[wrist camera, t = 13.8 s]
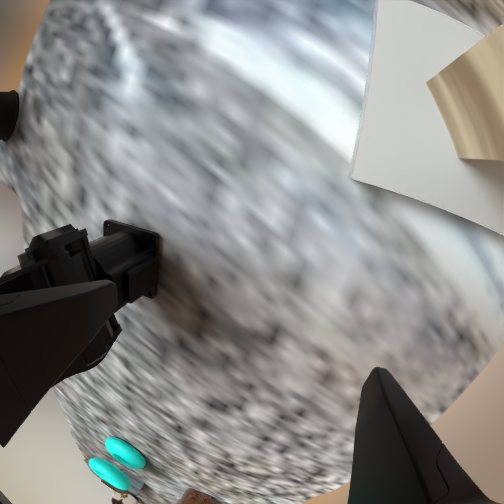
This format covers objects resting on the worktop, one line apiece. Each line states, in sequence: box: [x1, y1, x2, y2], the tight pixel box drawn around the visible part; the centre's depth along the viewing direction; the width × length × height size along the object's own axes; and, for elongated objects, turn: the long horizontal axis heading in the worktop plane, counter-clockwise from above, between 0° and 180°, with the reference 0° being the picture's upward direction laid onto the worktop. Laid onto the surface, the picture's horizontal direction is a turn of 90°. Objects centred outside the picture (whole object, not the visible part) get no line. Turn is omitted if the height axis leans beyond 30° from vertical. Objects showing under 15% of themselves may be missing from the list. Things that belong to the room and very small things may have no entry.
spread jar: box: [112, 491, 139, 504], centre depth 64 cm, size 12×11×12 cm
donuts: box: [89, 437, 146, 490], centre depth 39 cm, size 10×10×10 cm
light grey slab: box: [348, 0, 504, 236], centre depth 12 cm, size 14×14×3 cm
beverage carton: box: [101, 469, 144, 496], centre depth 54 cm, size 8×19×7 cm, turn 137°
